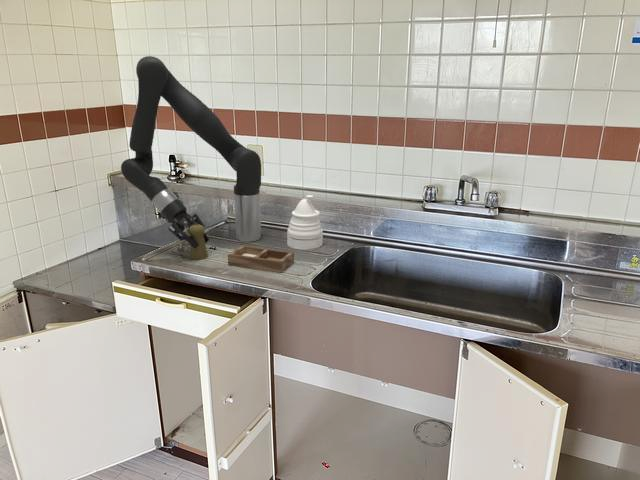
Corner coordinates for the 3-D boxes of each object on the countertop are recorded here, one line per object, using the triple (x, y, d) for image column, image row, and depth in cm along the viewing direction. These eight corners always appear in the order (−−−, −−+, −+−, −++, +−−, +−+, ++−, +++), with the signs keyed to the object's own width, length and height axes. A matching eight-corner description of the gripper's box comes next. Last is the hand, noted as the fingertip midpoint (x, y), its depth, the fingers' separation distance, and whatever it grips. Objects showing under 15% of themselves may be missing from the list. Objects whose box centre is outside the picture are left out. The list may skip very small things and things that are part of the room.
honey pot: (329, 242, 187) (330, 194, 182) (309, 252, 177) (310, 201, 171) (300, 236, 194) (300, 189, 188) (280, 245, 184) (279, 196, 178)
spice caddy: (243, 255, 173) (242, 245, 172) (293, 262, 167) (293, 252, 166) (228, 264, 165) (227, 254, 163) (281, 272, 158) (281, 262, 157)
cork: (203, 260, 168) (201, 228, 165) (186, 259, 169) (183, 227, 166) (210, 254, 174) (208, 223, 170) (194, 253, 175) (191, 222, 171)
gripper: (161, 203, 161) (196, 243, 161) (187, 194, 174) (220, 231, 174) (149, 218, 165) (183, 257, 165) (176, 207, 178) (207, 244, 178)
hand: (202, 243), depth 169 cm, fingers open, 5 cm apart
